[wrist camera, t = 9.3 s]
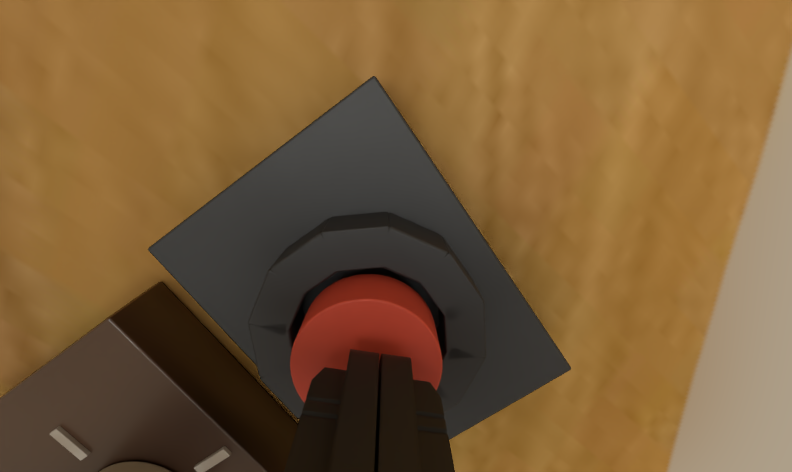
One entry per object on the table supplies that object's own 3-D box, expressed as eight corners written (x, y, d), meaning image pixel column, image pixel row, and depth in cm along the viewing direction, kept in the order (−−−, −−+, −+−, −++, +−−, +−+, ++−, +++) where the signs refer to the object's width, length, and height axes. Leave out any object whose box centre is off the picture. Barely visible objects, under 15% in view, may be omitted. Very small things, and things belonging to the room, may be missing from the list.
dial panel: (349, 478, 18) (341, 550, 15) (203, 563, 19) (168, 646, 16) (161, 280, 15) (104, 319, 12) (4, 396, 16) (-82, 458, 13)
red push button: (460, 347, 12) (471, 383, 10) (356, 411, 13) (351, 455, 11) (384, 246, 11) (383, 269, 10) (276, 321, 12) (257, 354, 10)
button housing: (548, 337, 16) (598, 404, 12) (371, 442, 18) (367, 533, 14) (376, 82, 13) (371, 66, 10) (181, 231, 15) (107, 269, 11)
